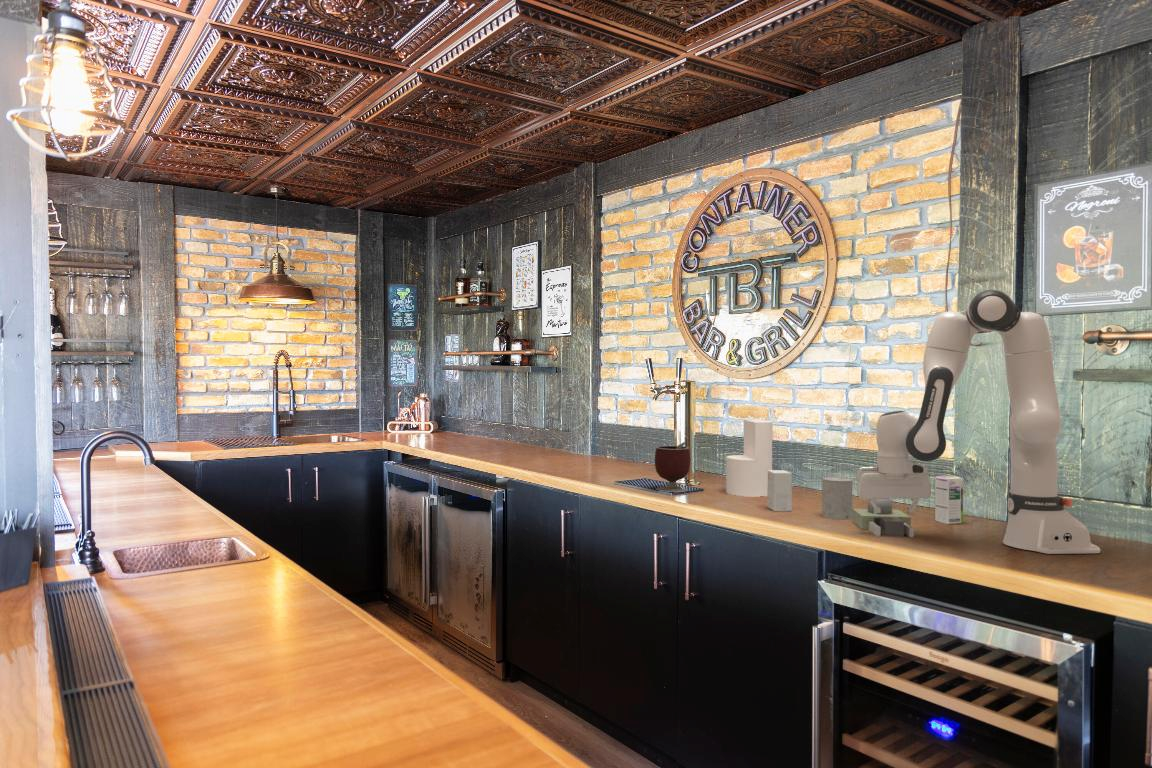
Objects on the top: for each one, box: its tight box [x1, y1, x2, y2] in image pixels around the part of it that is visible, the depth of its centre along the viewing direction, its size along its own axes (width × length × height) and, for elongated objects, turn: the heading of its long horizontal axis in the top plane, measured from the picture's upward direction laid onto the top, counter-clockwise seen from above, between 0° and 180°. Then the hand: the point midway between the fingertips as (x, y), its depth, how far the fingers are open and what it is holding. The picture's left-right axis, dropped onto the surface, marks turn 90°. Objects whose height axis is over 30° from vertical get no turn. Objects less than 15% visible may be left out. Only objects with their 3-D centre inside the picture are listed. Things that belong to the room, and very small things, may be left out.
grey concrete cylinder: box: [821, 476, 854, 520], centre depth 247 cm, size 10×10×12 cm
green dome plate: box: [851, 499, 915, 538], centre depth 228 cm, size 14×21×8 cm, turn 173°
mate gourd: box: [654, 441, 691, 492], centre depth 298 cm, size 16×14×20 cm
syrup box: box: [934, 475, 964, 525], centre depth 238 cm, size 6×6×14 cm
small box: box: [766, 469, 793, 512], centre depth 259 cm, size 8×6×13 cm
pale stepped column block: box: [725, 419, 774, 498], centre depth 293 cm, size 17×17×28 cm
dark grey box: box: [879, 516, 905, 538], centre depth 221 cm, size 5×7×4 cm
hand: (894, 513), depth 221 cm, fingers open, 8 cm apart
